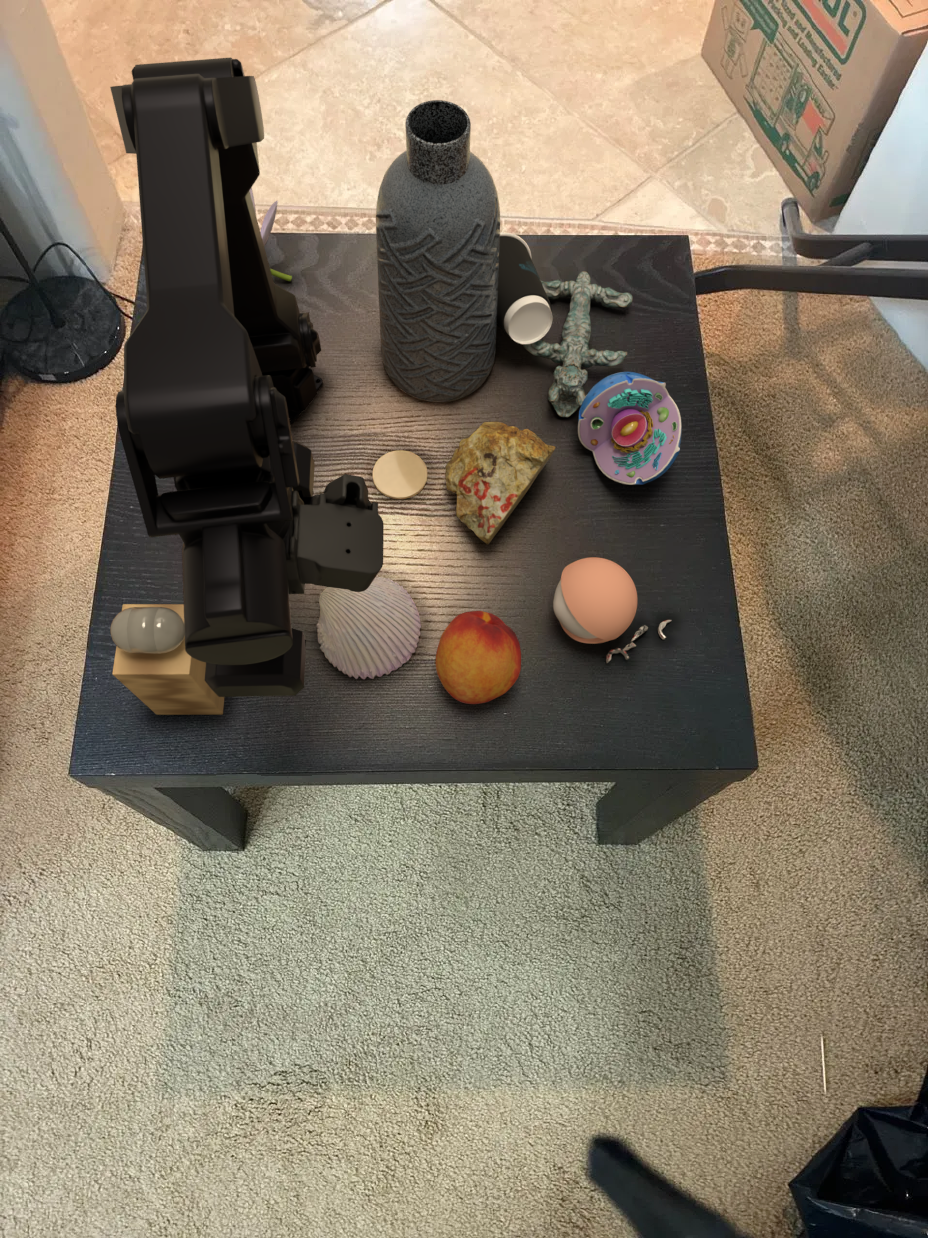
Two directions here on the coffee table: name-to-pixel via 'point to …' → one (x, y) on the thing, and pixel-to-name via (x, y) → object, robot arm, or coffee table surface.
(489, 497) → the rock
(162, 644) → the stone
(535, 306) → the dixie cup
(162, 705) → the stand
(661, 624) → the toy
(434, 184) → the vase
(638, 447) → the cell model
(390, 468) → the coaster
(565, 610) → the toy ball
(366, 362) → the coffee table surface
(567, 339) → the sculpture
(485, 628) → the fruit
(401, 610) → the seashell
